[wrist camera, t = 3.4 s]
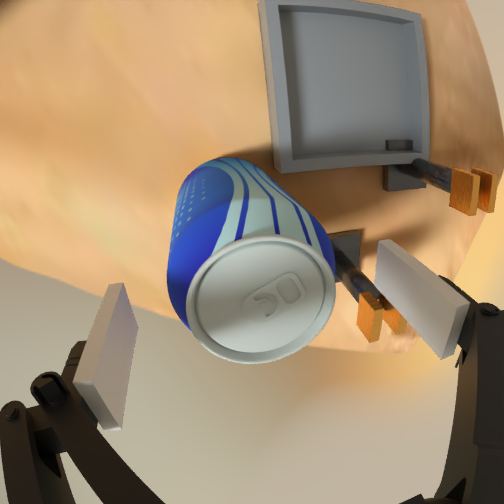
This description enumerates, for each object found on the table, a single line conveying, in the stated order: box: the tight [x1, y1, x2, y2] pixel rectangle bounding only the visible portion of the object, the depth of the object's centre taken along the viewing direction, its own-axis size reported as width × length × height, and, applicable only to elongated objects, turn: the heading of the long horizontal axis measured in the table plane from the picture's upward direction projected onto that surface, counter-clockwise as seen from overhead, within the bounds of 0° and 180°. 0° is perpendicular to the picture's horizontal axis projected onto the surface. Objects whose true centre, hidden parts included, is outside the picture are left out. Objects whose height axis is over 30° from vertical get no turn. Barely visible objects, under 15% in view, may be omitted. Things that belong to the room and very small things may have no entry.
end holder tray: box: [258, 0, 430, 174], centre depth 24 cm, size 15×15×2 cm
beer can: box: [167, 157, 336, 364], centre depth 21 cm, size 8×8×16 cm
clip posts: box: [328, 140, 498, 343], centre depth 26 cm, size 13×14×11 cm
